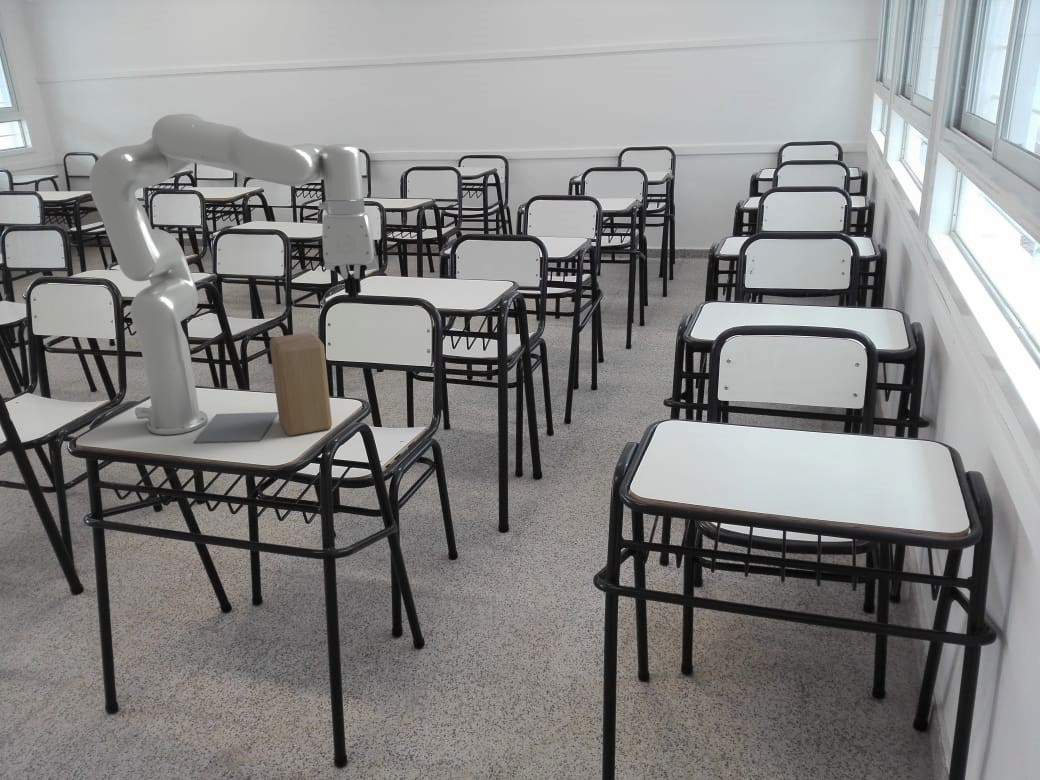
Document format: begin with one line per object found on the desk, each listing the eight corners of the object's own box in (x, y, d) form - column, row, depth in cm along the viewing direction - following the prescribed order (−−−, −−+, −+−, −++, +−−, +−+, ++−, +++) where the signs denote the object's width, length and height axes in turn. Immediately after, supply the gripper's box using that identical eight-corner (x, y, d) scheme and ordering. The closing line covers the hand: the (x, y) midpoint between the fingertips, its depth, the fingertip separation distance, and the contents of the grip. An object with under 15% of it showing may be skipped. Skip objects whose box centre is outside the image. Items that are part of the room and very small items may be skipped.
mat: (193, 443, 179) (193, 441, 179) (216, 415, 194) (216, 413, 194) (260, 441, 179) (259, 439, 179) (278, 413, 194) (277, 412, 194)
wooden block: (278, 422, 189) (268, 336, 182) (323, 414, 193) (314, 330, 186) (287, 438, 181) (276, 348, 174) (333, 429, 184) (324, 342, 178)
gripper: (304, 211, 167) (314, 301, 174) (380, 209, 168) (387, 299, 174) (312, 206, 174) (321, 293, 181) (384, 204, 175) (391, 291, 181)
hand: (353, 296), depth 177 cm, fingers closed
